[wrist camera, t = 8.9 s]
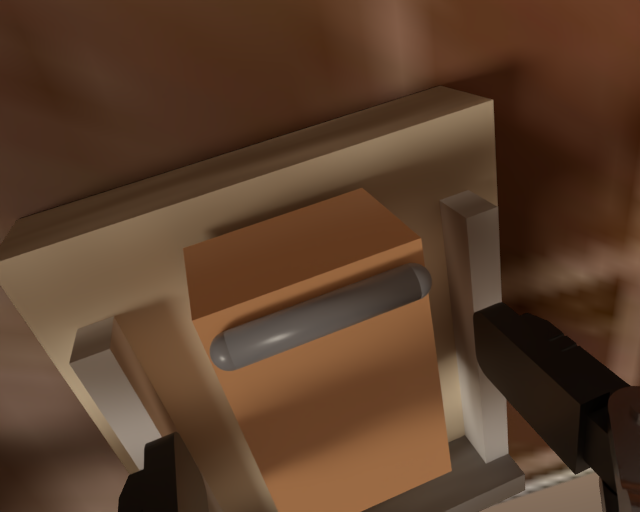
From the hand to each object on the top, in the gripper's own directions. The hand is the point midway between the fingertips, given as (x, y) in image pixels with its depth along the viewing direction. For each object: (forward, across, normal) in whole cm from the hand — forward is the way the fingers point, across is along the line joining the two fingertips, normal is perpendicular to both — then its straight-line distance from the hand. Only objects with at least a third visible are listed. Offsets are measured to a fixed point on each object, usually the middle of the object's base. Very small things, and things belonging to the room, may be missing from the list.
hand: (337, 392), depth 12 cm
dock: (+6, 0, +3) cm, 7 cm away
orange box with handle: (+3, 0, 0) cm, 3 cm away
